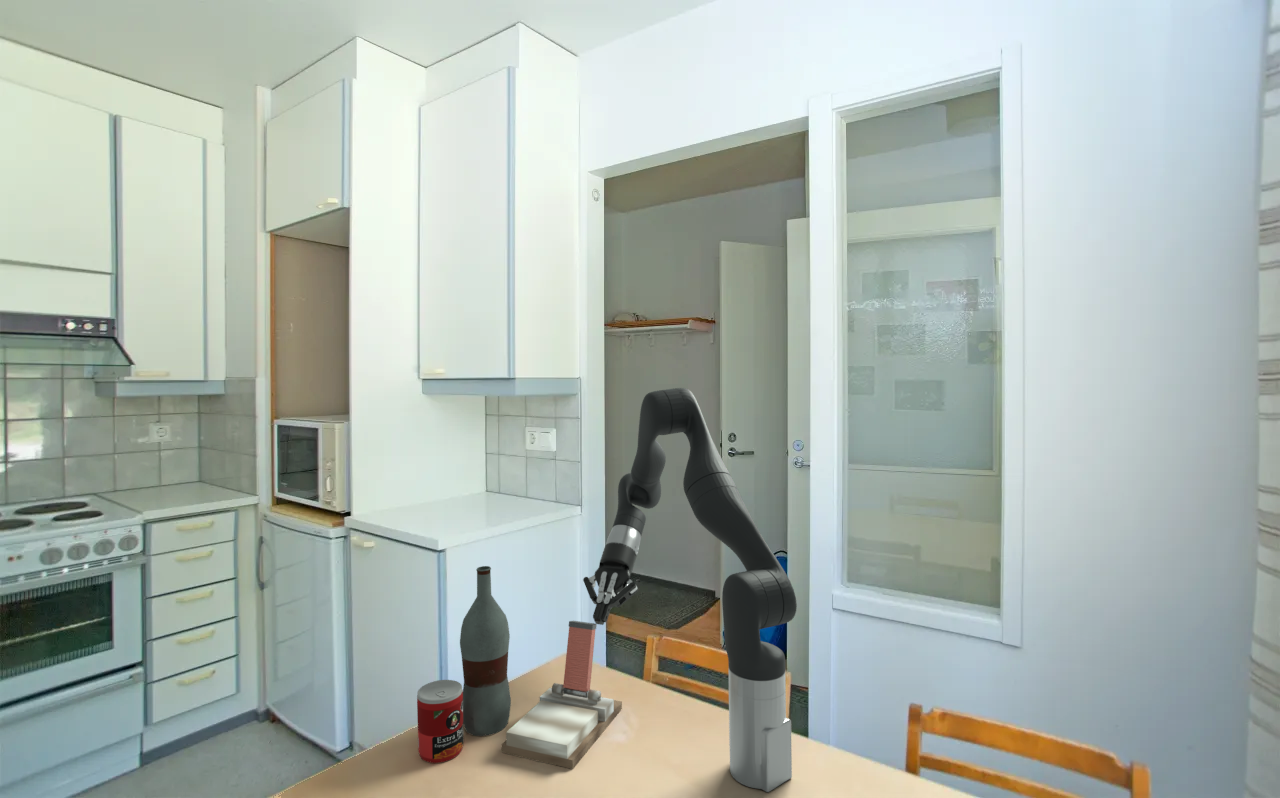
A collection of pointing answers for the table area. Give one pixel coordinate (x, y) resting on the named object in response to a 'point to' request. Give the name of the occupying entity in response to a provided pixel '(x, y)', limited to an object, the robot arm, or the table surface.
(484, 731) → the bottle
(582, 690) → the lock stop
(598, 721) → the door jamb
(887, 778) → the table surface
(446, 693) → the canned food
